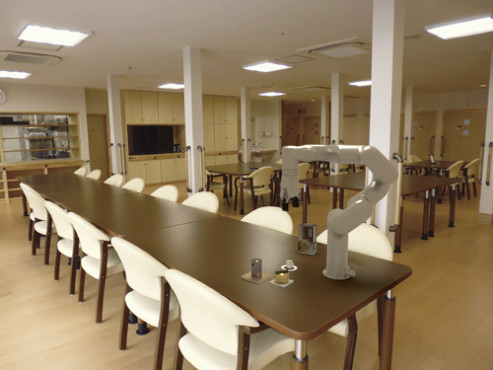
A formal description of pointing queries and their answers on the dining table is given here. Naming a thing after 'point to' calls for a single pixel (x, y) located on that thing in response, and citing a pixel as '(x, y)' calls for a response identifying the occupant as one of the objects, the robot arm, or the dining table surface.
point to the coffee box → (307, 238)
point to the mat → (281, 284)
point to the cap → (281, 276)
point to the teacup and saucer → (289, 265)
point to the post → (256, 272)
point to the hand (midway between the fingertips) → (290, 209)
